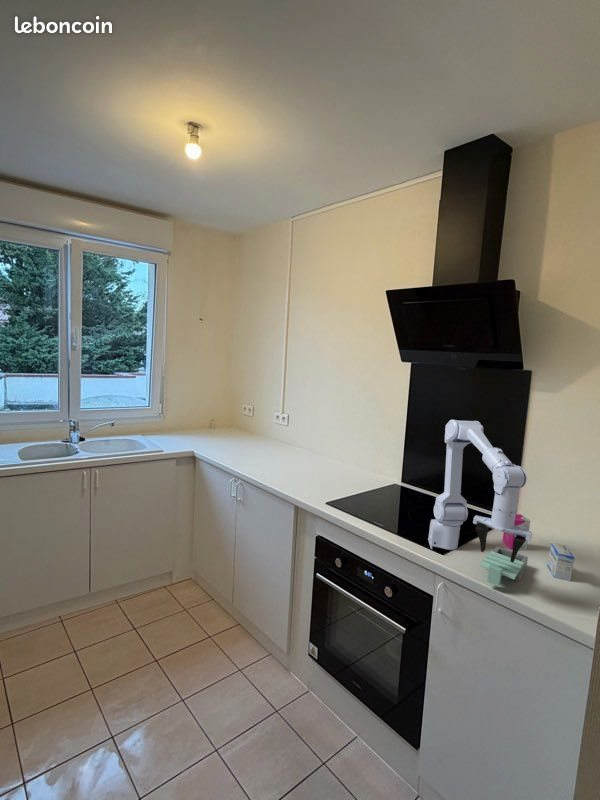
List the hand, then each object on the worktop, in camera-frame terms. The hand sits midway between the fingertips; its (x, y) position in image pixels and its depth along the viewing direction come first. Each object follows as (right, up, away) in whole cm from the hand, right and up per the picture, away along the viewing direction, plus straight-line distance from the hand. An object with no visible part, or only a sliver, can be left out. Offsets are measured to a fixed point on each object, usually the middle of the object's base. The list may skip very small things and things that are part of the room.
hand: (497, 555), depth 115 cm
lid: (+3, -7, +5) cm, 10 cm away
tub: (+9, -10, +13) cm, 18 cm away
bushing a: (+12, -9, +13) cm, 20 cm away
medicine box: (+25, -11, +13) cm, 30 cm away
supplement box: (+20, -9, +29) cm, 36 cm away
